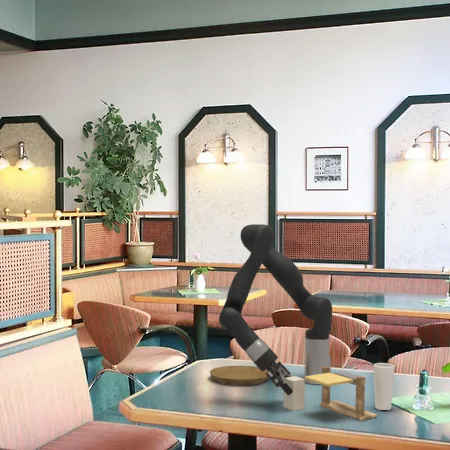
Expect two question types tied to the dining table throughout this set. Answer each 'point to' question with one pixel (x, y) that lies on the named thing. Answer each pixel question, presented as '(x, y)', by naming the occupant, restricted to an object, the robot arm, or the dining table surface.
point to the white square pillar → (295, 393)
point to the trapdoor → (333, 378)
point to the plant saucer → (239, 375)
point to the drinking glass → (383, 385)
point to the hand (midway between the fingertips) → (293, 390)
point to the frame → (344, 408)
